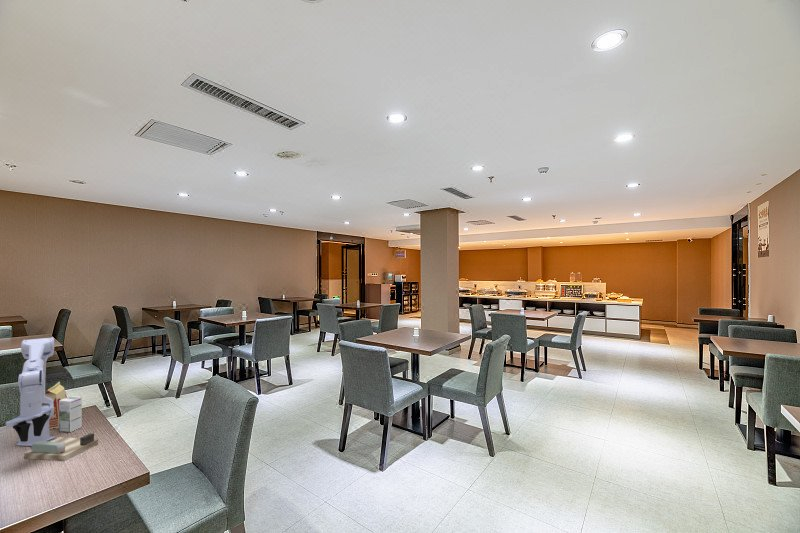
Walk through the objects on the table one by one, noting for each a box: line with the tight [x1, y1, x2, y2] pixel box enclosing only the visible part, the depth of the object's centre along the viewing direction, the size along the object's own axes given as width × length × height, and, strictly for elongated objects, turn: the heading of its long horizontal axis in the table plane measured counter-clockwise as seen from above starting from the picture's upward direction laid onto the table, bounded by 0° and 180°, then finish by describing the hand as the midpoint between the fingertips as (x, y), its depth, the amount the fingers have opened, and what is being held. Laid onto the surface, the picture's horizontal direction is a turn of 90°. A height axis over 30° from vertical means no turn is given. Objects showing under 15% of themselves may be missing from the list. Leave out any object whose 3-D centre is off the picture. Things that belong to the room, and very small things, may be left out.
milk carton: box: [42, 381, 67, 430], centre depth 169 cm, size 9×9×20 cm
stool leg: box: [31, 441, 65, 453], centre depth 141 cm, size 13×2×3 cm, turn 83°
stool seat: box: [23, 433, 99, 462], centre depth 145 cm, size 18×14×5 cm
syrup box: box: [58, 396, 83, 433], centre depth 165 cm, size 6×6×14 cm
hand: (30, 438), depth 136 cm, fingers open, 4 cm apart
